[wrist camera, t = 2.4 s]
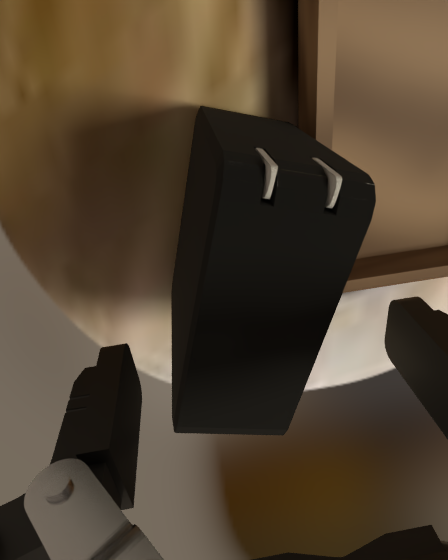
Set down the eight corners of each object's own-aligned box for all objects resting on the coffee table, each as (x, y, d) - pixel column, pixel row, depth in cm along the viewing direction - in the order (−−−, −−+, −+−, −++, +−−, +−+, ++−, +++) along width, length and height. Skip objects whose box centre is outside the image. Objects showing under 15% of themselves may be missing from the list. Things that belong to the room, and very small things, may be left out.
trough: (297, -122, 14) (322, -153, 12) (574, -150, 14) (647, -185, 12) (298, 272, 22) (312, 297, 20) (471, 246, 23) (503, 268, 21)
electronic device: (170, 291, 22) (170, 444, 14) (197, 102, 17) (223, 158, 9) (241, 297, 23) (283, 446, 14) (286, 119, 18) (389, 185, 10)
